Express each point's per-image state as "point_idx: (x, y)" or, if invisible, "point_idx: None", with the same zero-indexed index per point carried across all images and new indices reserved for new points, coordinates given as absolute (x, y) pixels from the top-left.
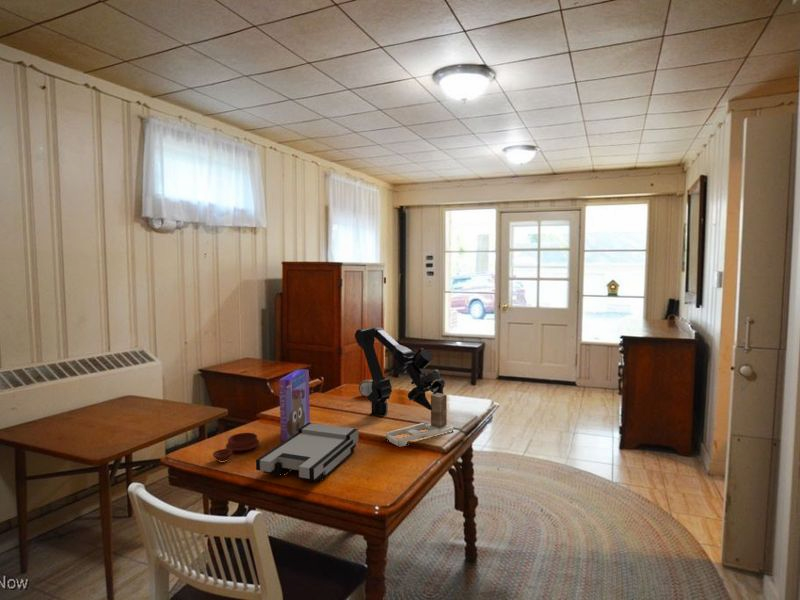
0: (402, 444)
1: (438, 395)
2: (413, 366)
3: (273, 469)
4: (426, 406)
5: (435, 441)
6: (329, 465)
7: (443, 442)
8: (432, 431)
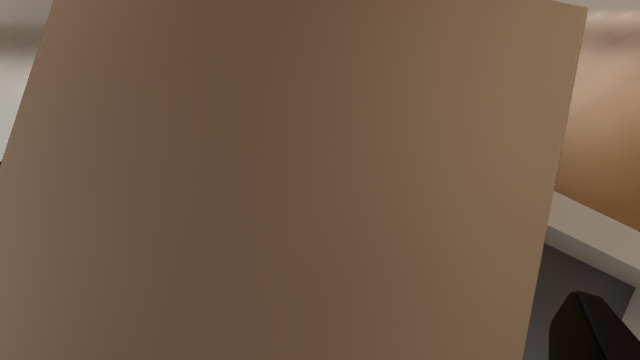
0: None
1: (358, 177)
2: None
3: None
4: None
5: (624, 152)
6: None
7: (605, 67)
8: (593, 212)
